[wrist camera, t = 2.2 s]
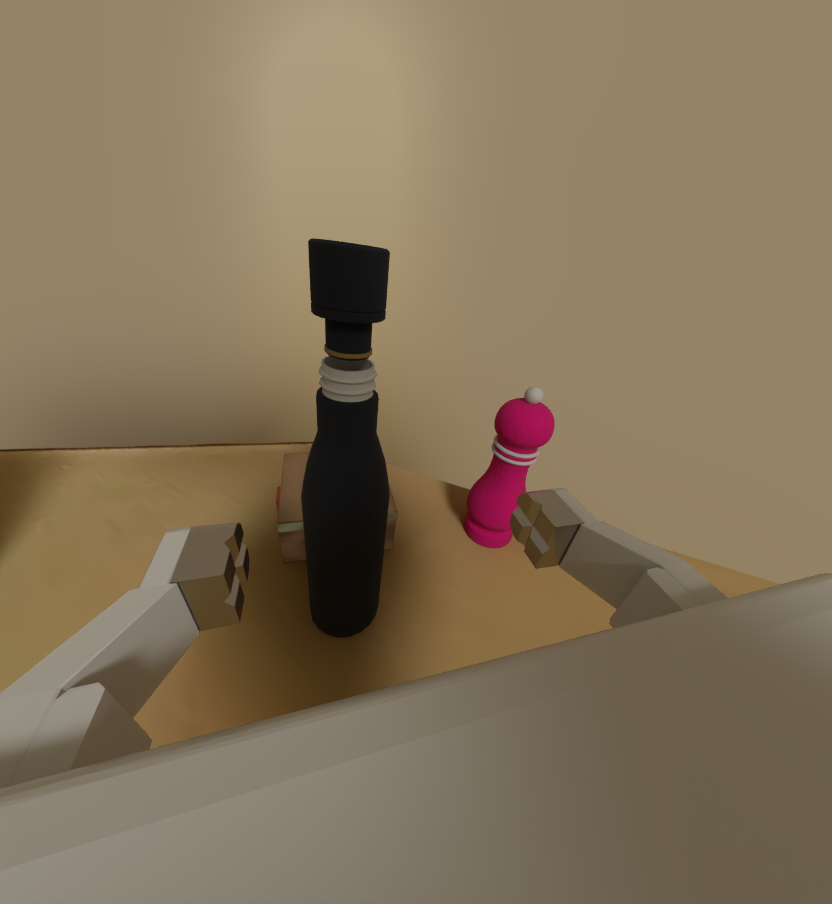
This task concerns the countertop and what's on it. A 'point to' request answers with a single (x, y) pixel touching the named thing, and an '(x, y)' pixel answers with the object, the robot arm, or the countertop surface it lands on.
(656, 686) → the robot arm
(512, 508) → the pepper mill
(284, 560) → the wooden box
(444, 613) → the countertop surface
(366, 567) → the black bottle
